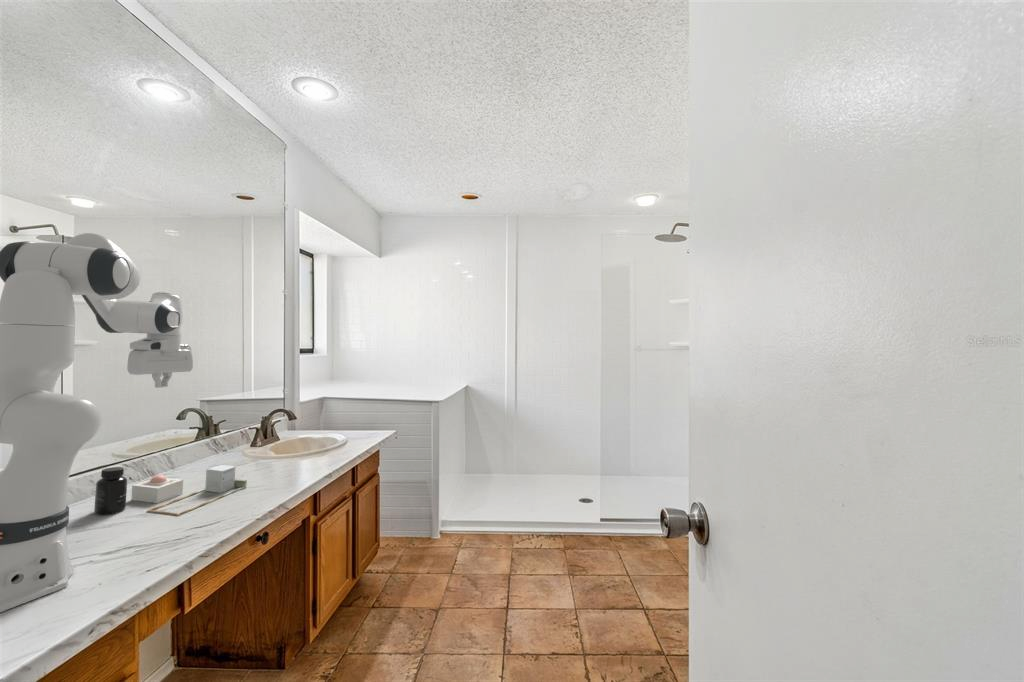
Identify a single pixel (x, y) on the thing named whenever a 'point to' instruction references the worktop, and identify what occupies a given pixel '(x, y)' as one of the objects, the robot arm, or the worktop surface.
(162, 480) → the white pink rounded piece
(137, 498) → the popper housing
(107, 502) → the supplement bottle
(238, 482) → the track
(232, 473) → the product box
